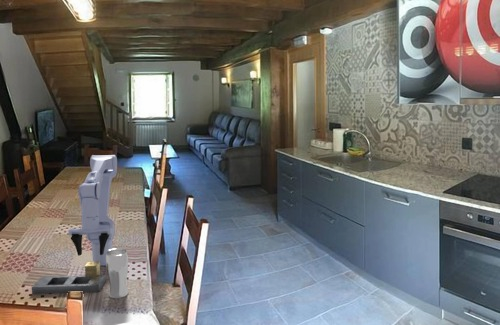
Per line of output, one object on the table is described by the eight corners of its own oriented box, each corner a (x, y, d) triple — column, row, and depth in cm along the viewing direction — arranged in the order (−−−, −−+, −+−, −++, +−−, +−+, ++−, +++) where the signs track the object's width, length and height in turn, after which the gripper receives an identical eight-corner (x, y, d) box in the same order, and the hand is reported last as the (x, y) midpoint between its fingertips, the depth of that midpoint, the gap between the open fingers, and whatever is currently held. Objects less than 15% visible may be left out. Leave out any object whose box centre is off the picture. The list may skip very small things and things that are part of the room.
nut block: (89, 276, 147) (88, 261, 146) (100, 276, 147) (99, 261, 146) (85, 281, 143) (84, 266, 142) (97, 281, 143) (96, 265, 142)
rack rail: (42, 282, 142) (42, 276, 141) (105, 281, 144) (105, 274, 143) (32, 293, 134) (31, 287, 134) (99, 291, 136) (98, 285, 135)
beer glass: (107, 291, 136) (105, 249, 134) (128, 287, 139) (126, 246, 136) (108, 300, 130) (105, 257, 127) (130, 297, 132) (128, 254, 130)
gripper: (64, 218, 138) (65, 258, 138) (107, 217, 139) (108, 256, 139) (72, 215, 145) (73, 253, 145) (113, 214, 146) (113, 251, 146)
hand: (90, 254), depth 143 cm, fingers open, 7 cm apart
